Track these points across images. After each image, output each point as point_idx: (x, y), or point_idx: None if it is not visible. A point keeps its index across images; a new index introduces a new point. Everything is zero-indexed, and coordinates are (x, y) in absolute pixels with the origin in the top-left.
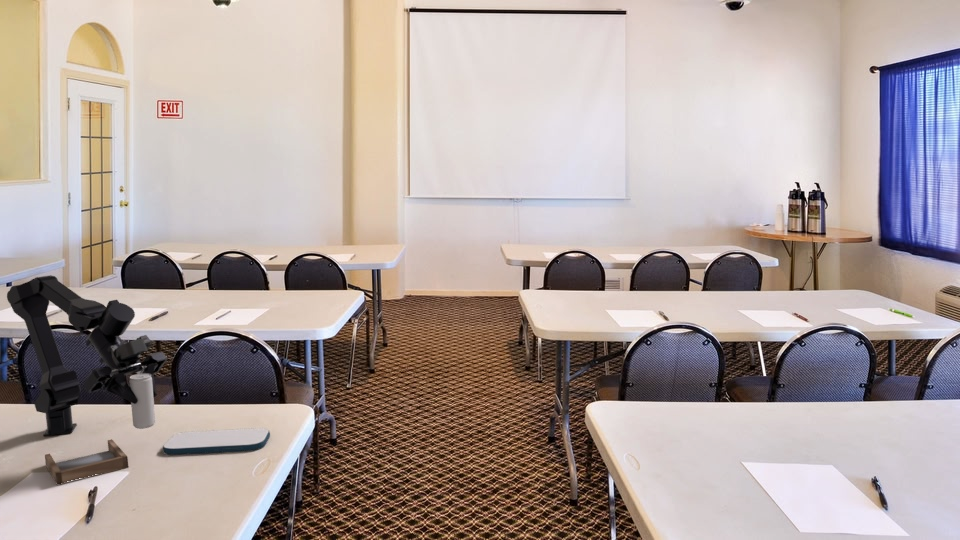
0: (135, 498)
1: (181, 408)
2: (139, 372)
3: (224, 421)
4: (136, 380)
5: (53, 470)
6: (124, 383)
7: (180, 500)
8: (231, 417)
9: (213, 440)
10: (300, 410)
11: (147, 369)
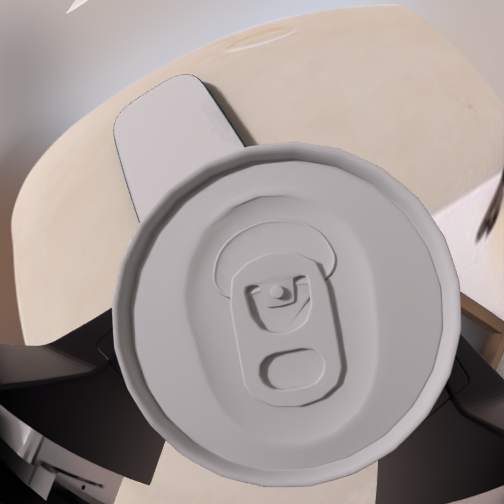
0: (458, 126)
1: None
2: (103, 494)
3: (72, 270)
4: (428, 251)
5: (498, 359)
6: (471, 386)
7: (415, 65)
8: (56, 273)
9: (195, 154)
10: (31, 177)
11: (44, 387)
